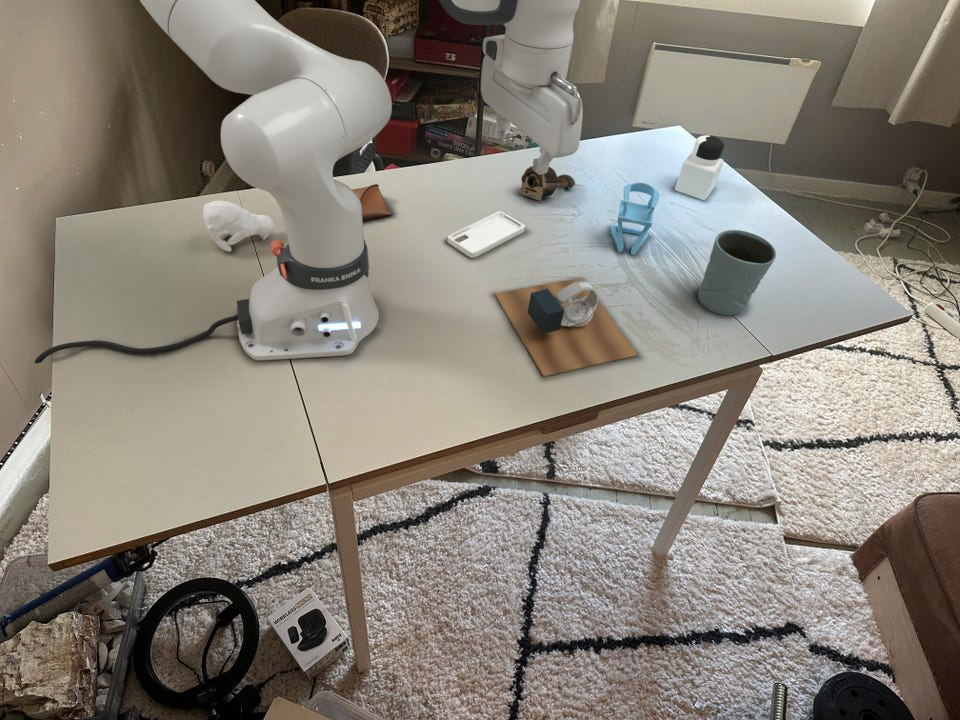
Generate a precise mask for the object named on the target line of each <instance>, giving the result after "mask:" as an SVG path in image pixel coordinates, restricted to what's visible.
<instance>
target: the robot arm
mask: <svg viewBox="0 0 960 720" xmlns="http://www.w3.org/2000/svg"><path fill="white" fill-rule="evenodd" d="M438 1H439V3H440V5H441V6H442V8H443V9H444V11H445V12H446V13H447V14H448V15H449V16H450V17H451V18H452V19H454V20H455V21H457V22H459V23H462V24H465V25H472V26H473V25H474V26H499V25H503V26H504V27H505V31H504V34H498V35H492V36H487V37H484V38H483V41H482V53H483V54H484V57H483V59H482V65H481V74H480V93H481V98H482V100H483V102H484V103H485V104H487V105H488V106H489V107H491V109H493V110H494V111H495V114H494V117H495V122H496V126H497V130H498V132H497V133H498V134H497V140H498V142H500V143H501V144H502V145H503V146H506V145H511V144H512V142H513V140H514V139H513V137H514V131H513V130H512V127H511V125H513V126H514V127H515V128H516V129H518V130H519V131H520V132H522V134H524V135H525V136H527V137H528V139H531V141H533V142H534V143H535V144H537V145H538V146H539V153H540V156H539V157H538V158H533V160H532V166H533V167H532V169H533V170H534V171H535V172H536V173H537V174H539V175H541V174H545V173H547V171H548V168H549V167H550V163H551V161H552V160H553V159H554V158H555V159H558V158H565V157H569V156H571V155H574V154H575V153H577V152H578V150H579V148H580V143H581V137H582V136H581V135H582V127H583V114H584V113H583V112H584V111H583V110H584V109H583V100H582V98H581V96H580V93H579V92H578V90H579V89H578V87H577V85H575V84H574V83H572V82H570V81H568V80H567V77H568V71H569V65H570V60H571V55H572V49H573V43H574V37H575V35H574V34H575V33H574V21H575V17H576V14H577V12H578V10H579V7H580V4H581V0H438ZM139 2H140V3H141V5H142V6H143V7H144V8H145V10H146V11H147V12H148V14H149V15H150V16H151V18H152V19H153V20H154V21H155V23H156V24H157V25H158V26H159V27H160V28H161V30H162V31H163V32H164V33H165V34H166V35H167V36H168V37H169V38H170V39H171V40H172V41H173V42H174V44H176V45H177V46H178V48H179V49H180V50H182V52H183V53H184V54H185V55H186V56H187V57H188V58H189V59H190V60H191V61H192V62H193V63H194V64H195V65H196V66H197V67H198V68H199V69H200V70H201V71H202V72H203V73H204V74H205V75H206V76H207V77H208V78H209V79H210V80H211V81H212V82H213V83H214V84H215V85H216V86H218V87H221V88H222V89H224V90H226V91H229V92H233V93H237V94H244V95H250V97H248V98H247V99H246V100H245V101H243V102H242V103H241V104H239V105H238V106H237V107H235V108H234V109H233V110H231V111H230V113H228V114H227V115H226V116H225V117H224V118H223V120H222V122H221V127H220V145H221V149H222V152H223V155H224V157H225V161H226V162H227V164H228V165H229V167H230V168H231V169H232V171H233V172H234V173H235V174H236V176H237V177H239V178H240V179H241V180H242V181H244V182H245V183H246V184H248V185H249V186H252V187H254V188H256V189H258V190H261V191H265V192H267V193H268V194H270V195H271V196H272V197H273V199H274V200H275V202H276V203H277V205H278V207H279V209H280V211H281V215H282V220H283V224H284V229H285V233H286V238H287V245H286V246H285V244H284V241H282V240H280V239H275V240H274V239H273V241H271V243H270V250H271V253H272V255H273V256H274V257H276V264H277V266H276V267H275V268H273V269H272V270H271V271H269V272H268V273H267V274H266V275H264V276H263V277H261V278H260V279H258V280H257V281H255V283H254V284H253V286H252V287H251V289H250V294H249V298H246V299H237V300H236V309H237V314H235V315H231V316H228V317H225V318H222V319H219V320H217V321H215V322H214V323H212V324H211V325H210V327H209V328H208V329H206V330H204V331H203V332H201V333H199V334H197V335H195V336H192V337H189V338H188V339H185V340H182V341H179V342H176V343H172V344H168V345H162V346H156V347H144V348H143V347H141V348H139V347H131V346H126V345H123V344H119V343H117V342H112V341H107V340H84V341H83V340H82V341H73V342H67V343H62V344H57V345H54V346H52V347H50V348H48V349H45V350H44V351H43V352H41V353H40V354H39V355H38V356H37V357H36V358H35V360H34V364H40V363H42V362H43V361H44V360H45V359H46V358H47V357H49V356H50V355H52V354H54V353H57V352H60V351H63V350H68V349H74V348H84V347H104V348H109V349H115V350H117V351H121V352H124V353H128V354H135V355H137V354H138V355H147V354H156V353H164V352H168V351H172V350H173V351H174V350H177V349H180V348H183V347H185V346H186V347H187V346H188V345H191V344H193V343H196V342H199V341H200V340H203V339H205V338H207V337H209V336H210V335H212V334H213V333H214V332H215V331H216V330H217V328H219V327H221V326H224V325H226V324H229V323H233V322H236V321H237V333H238V334H237V335H238V339H239V342H240V346H241V347H242V349H243V350H244V352H245V353H246V354H247V355H248V356H249V358H251V359H253V360H254V361H276V360H291V359H308V358H325V357H326V358H327V357H341V356H342V357H343V356H349V355H351V354H352V353H353V354H354V352H355V351H356V349H357V347H358V345H359V343H360V342H361V341H362V340H363V339H365V338H366V337H368V336H369V335H370V334H371V333H372V332H373V331H374V330H375V328H376V327H377V325H378V322H379V317H380V312H379V308H378V306H377V304H376V302H375V300H374V297H373V294H372V290H371V286H370V282H369V276H370V273H369V272H370V257H369V256H370V255H369V248H368V245H367V243H366V240H365V237H364V222H363V221H362V207H361V202H360V200H359V198H358V196H357V195H356V194H355V193H354V191H353V189H352V188H351V187H350V186H349V185H347V184H346V183H344V182H342V181H340V180H336V179H334V175H333V173H334V172H333V171H334V167H335V165H336V162H337V161H339V160H340V159H343V158H344V157H345V156H347V155H349V154H351V153H352V152H354V151H357V150H359V149H361V148H362V147H364V146H365V145H367V144H368V143H370V142H371V141H372V140H373V139H374V138H375V137H376V136H377V135H378V134H379V133H380V132H381V131H382V130H383V129H384V127H386V125H388V123H389V121H390V119H391V116H392V111H393V102H392V101H393V100H392V96H391V92H390V89H389V87H388V85H387V82H386V81H385V79H384V77H383V76H382V74H380V73H379V71H378V70H377V69H376V68H375V67H373V66H372V65H370V64H368V63H367V62H364V61H360V60H356V59H355V60H354V59H349V58H345V57H342V56H339V55H336V54H334V53H331V52H329V51H327V50H325V49H323V48H321V47H320V46H317V45H315V44H314V43H312V42H310V41H308V40H306V39H305V38H303V37H301V36H300V35H297V33H294V32H293V31H291V30H289V28H286V27H285V26H284V25H283V24H281V23H280V22H278V20H276V19H275V18H274V17H273V16H271V14H269V13H268V12H267V11H266V10H265V9H264V8H263V7H262V6H261V5H260V4H259V3H258V1H256V0H139Z"/></svg>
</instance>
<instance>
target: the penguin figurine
mask: <svg viewBox="0 0 960 720" xmlns="http://www.w3.org/2000/svg"><path fill="white" fill-rule="evenodd" d="M202 218H203V221H204V225H205V226H206V229H207V231H208V236H209V238H211V239H212V240H213V242H214V243H215V244H216V246H218V247H219V248H220V249H221V250H224V251H225V252H228V253H230V252H232V246H231V245H236V244H237V243H239V242H241V241H242V240H244V239H245V238H249V237H251V236H255V235H258V236H259V237H260V238H262V242H264V241H265V240H266V239H267V238H268V237H269V236H270V235H271V233H272V232H273V231H274V229H275V223H274V221H273V218H271V217H270V216H268V215H265V214H255V213H254V212H250V211H249V210H248V209H247V208H244V207H242V206H241V205H239V204H236V203H233V202H231V201H229V200H213V201H210V202H207V203H205V204H204V205H203V207H202ZM228 235H230V236H231V237H230V238H229V239H228V240H224V239H226V238H227V237H228Z"/></svg>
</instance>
